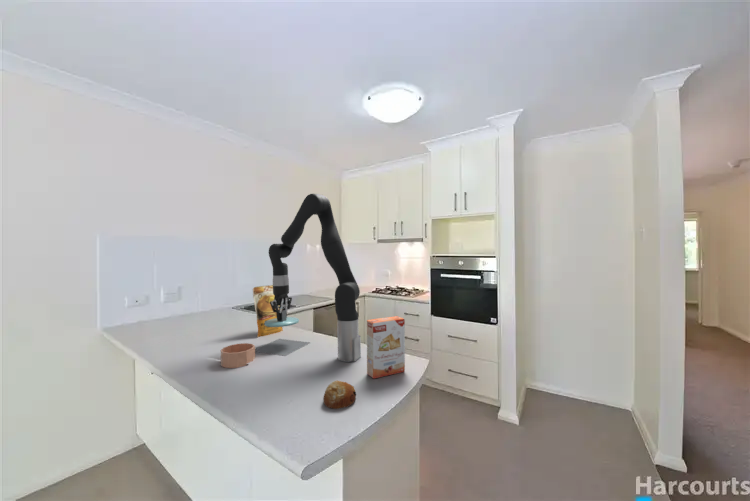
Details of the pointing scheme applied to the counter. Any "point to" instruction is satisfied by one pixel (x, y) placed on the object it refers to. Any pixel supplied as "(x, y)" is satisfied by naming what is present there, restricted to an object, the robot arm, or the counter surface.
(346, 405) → the bread roll
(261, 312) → the pancake mix bag
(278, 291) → the robot arm
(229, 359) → the bowl
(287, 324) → the lid
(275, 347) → the mat
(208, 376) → the counter surface
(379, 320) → the cracker box
